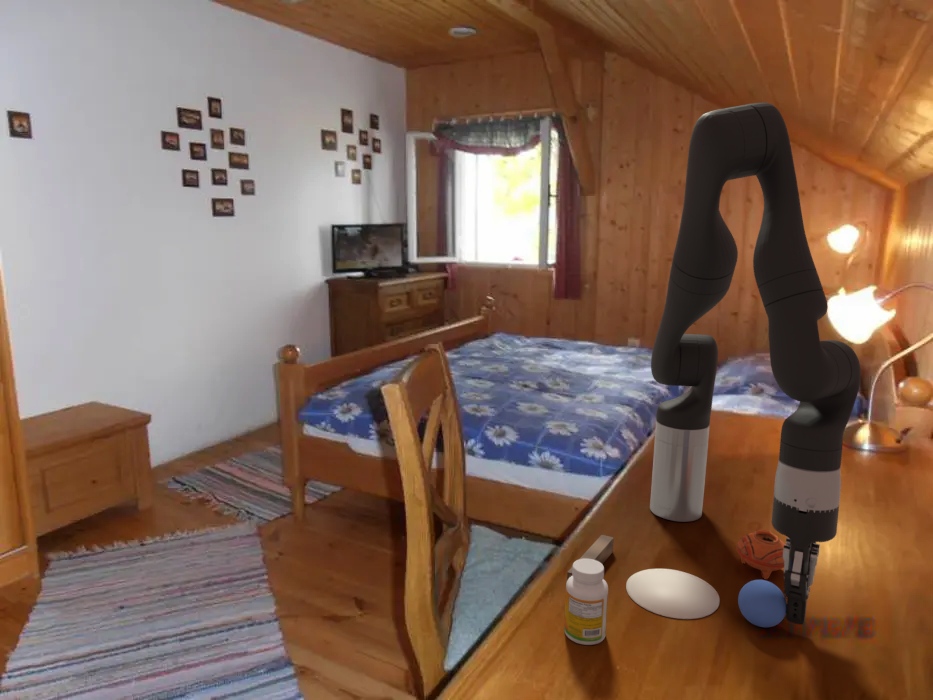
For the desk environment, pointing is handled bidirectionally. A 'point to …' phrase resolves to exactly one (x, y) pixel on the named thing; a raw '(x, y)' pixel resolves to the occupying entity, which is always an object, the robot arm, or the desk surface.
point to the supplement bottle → (586, 603)
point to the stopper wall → (597, 551)
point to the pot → (762, 551)
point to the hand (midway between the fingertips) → (795, 620)
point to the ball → (762, 603)
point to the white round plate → (672, 593)
